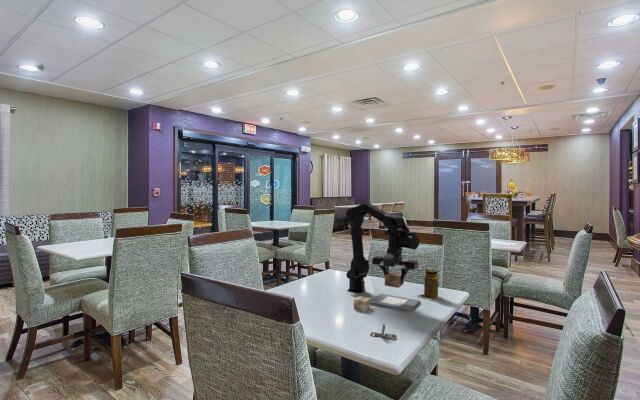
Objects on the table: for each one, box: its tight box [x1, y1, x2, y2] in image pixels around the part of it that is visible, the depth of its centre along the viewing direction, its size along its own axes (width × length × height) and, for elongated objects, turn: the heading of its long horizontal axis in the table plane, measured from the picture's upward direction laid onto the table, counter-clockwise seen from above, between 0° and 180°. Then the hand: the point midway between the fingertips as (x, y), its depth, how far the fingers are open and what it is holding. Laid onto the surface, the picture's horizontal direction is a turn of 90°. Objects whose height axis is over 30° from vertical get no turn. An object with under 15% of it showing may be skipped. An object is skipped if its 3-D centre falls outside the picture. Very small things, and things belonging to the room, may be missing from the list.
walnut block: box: [384, 271, 405, 289], centre depth 149 cm, size 6×7×4 cm
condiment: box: [416, 269, 442, 301], centre depth 159 cm, size 7×8×12 cm
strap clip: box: [369, 323, 398, 341], centre depth 116 cm, size 8×3×4 cm, turn 69°
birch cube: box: [353, 296, 371, 312], centre depth 143 cm, size 5×5×4 cm
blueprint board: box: [370, 293, 421, 313], centre depth 149 cm, size 18×14×1 cm
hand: (394, 282), depth 149 cm, fingers closed on walnut block, 6 cm apart
